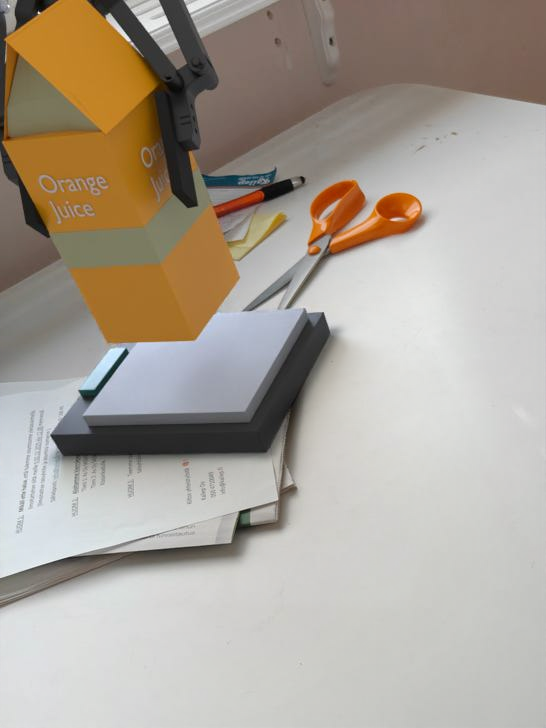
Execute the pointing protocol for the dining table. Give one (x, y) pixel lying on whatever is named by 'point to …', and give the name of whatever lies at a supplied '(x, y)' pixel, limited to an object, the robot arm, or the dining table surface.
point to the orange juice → (110, 178)
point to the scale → (197, 388)
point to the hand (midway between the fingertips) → (113, 214)
